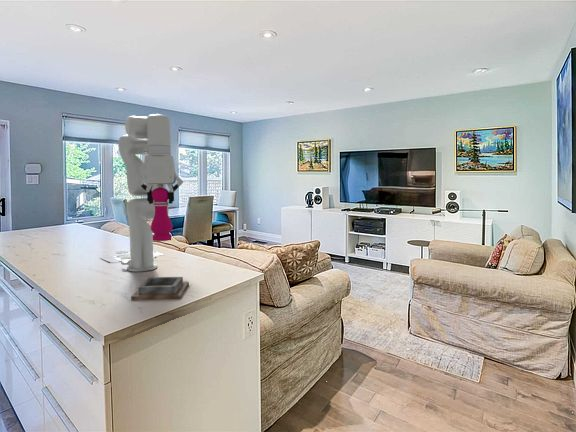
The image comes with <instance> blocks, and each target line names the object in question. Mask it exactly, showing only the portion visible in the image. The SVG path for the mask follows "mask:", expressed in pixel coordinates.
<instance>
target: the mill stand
mask: <svg viewBox="0 0 576 432" xmlns="http://www.w3.org/2000/svg"><path fill="white" fill-rule="evenodd" d="M189 285H190V282H189V281H184V280H183V276H159V277H158V276H157V277H148V278H147V279H145V280H144V281H143V282H142V284H141V285H140V286H139V287H138V289H137V290H136V291H135V292H134V293H133V294H132V295H131V297H130V301H145V300H146V301H148V300H149V301H152V300H181V299H182V297H183V295H184V293H185V292H186V291H187V288H188V287H189Z"/></svg>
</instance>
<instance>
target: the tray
mask: <svg viewBox="0 0 576 432" xmlns="http://www.w3.org/2000/svg"><path fill="white" fill-rule="evenodd" d="M122 253H124V254H122ZM125 253H129V254H125ZM115 254H122V255H117V256H114V257H118V258H114V259H116V260H119V261H121V260H129V259H131V256H130V251H127V250H117V251H115V252H114V255H115ZM160 255H162V256H165V254H164V253H161V252H160V251H156V253H154V252H153V259H154V258H157V257H159V256H160ZM120 257H121V258H120ZM160 257H161V256H160Z"/></svg>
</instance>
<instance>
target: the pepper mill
mask: <svg viewBox="0 0 576 432" xmlns="http://www.w3.org/2000/svg"><path fill="white" fill-rule="evenodd" d="M169 191H170V190H168V189H167V188H166V189H165V188H163V184H158V188H156V189H154V190H153V192H152V199H153V200H154V201H155V202H153V203H154V206H155V215H154V218H153V219H152V221H151V224H150V226H151V231H152V232H153V242H166V241H168V242H169V241H171V240H172V234H171V232H172V230H173V223H172V220H171V219H170V217H169V211H168V212H167V206H168V207H169V194H168V193H169ZM167 200H168V202H167Z"/></svg>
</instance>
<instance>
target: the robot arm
mask: <svg viewBox="0 0 576 432" xmlns="http://www.w3.org/2000/svg"><path fill="white" fill-rule="evenodd" d="M124 125H125V127H124V129H125V133H126V134H125V135H121V136H120V137H119V139H118V151H119V155H120V157H121V160H122V161H123V163H124V167H125V173H126V183H127V190H128V193H129V194H130V195H131V196H133V197H138V198H132V199H130V200H128V202H127V203H126V206H125V208H126V215H127V219H128V226H129V229H128V230H129V253H130V256H131V259H129V260H121V262H120V264H121V265H123V266H125V265H127V267H126V270H127V271H129V272H133V273H134V272H135V273H136V272H148V271H153V270H156V269H157V268H158V264H157V263H155V261H154V258H153V251H154V241H153V235H154V233H153V232H152V231H151V224H149V223H148V222H147V221H148V220H153V218H154V215H155V206H154V203H153V202H155V201H154V200H153V199H152V192H153V190H154V189H156V188H158V184H163V188H165V189H167V187H168V189H169V190H168V191H169V193H168V194H169V199H168V200H167V202H169V203H168V206H167V212H168V213H169V204H170V205H172V204H173V203H174V202H175V192H176V190H177V189H179V187H180V186H181V185H182V184H183V183H184V180H182V179H181V177H179V176H178V175H177V174H176V168H175V167H176V166H175V161H174V156H173V155H172V150H171V148H172V146H171V120H170V118H169V116H167V115H164V114H159V113H156V114H154V113H153V114H148V116H136V115H129V116H127V117H126V119H125V124H124ZM138 155H144V160H142V159H141V158H140V157H139V156H138ZM176 181H177V183H176ZM139 197H141V198H139ZM142 197H145V198H142Z"/></svg>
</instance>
